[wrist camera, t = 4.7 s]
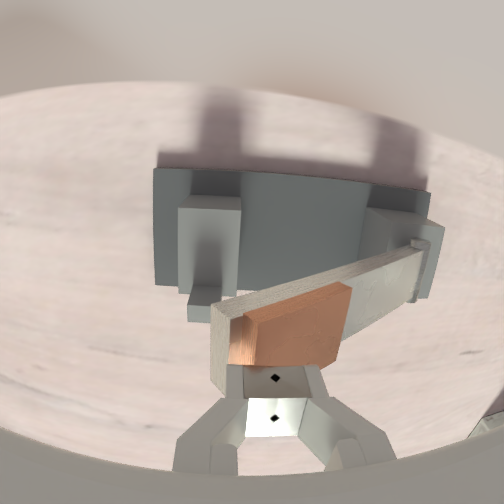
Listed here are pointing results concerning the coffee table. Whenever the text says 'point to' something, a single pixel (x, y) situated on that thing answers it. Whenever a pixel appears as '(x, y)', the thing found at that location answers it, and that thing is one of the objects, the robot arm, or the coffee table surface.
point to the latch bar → (313, 312)
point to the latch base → (275, 229)
